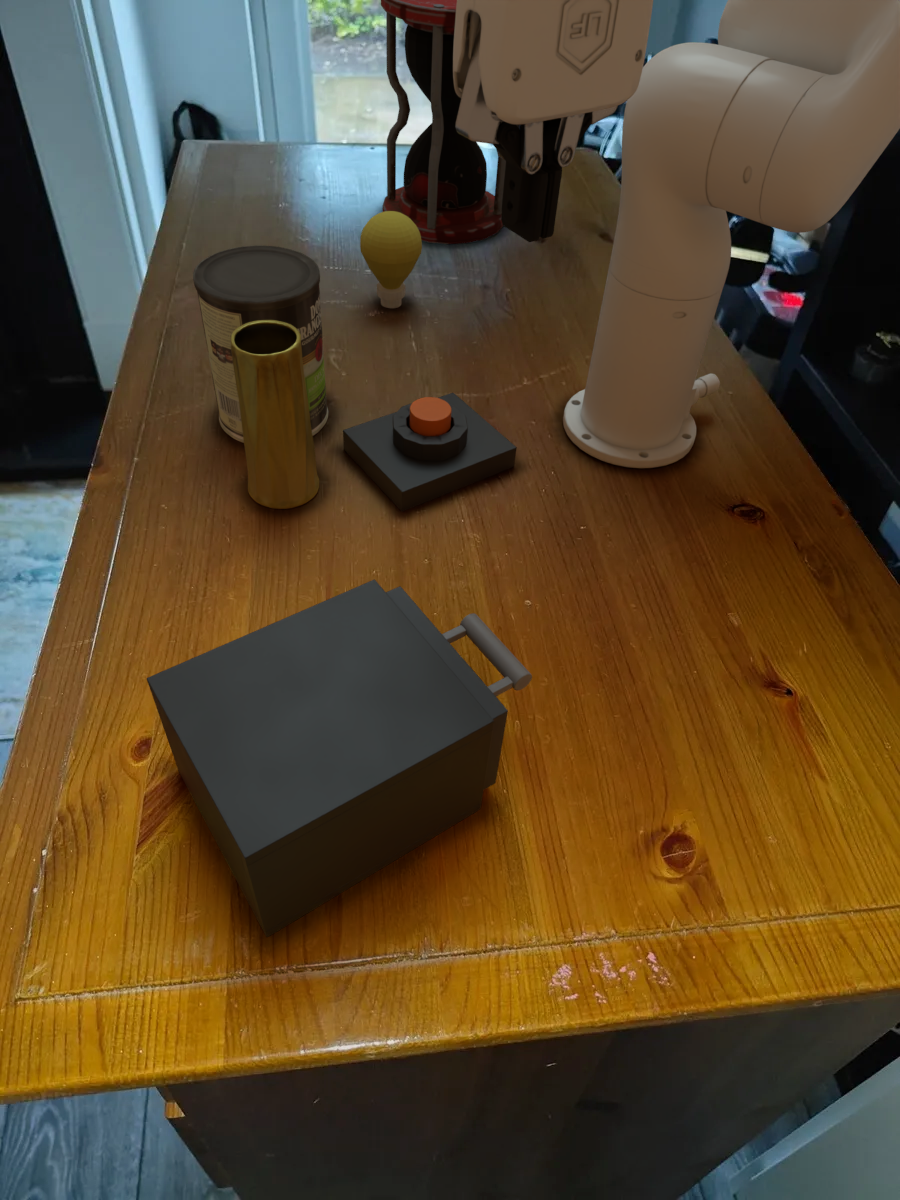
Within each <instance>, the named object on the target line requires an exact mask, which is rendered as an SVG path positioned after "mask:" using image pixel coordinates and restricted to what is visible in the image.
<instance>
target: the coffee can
mask: <svg viewBox="0 0 900 1200" xmlns="http://www.w3.org/2000/svg"><path fill="white" fill-rule="evenodd" d="M192 272H193V273H192V280H193V285H194V288H195V290H196V293H197V298H198V299H197V300H198V304H199V310H200V311H199V312H200V315H201V320H202V321H201V322H202V327H203V333H204V337H205V344H206V349H207V355H208V359H209V360H208V361H209V366H210V373H211V377H212V384H213V390H214V394H215V399H216V405H217V411H218V412H217V413H218V422H219V425H220V427H221V429H222V430H223V432H224V433H226V435H228V436H229V437H231V438H232V439H233V440H235V441H237V442H240V443H243V444H244V439H243V430H242V422H241V414H240V405H239V398H238V393H237V387H236V380H235V373H234V366H233V360H232V352H231V335H232V333H233V332H234V330H235V329H237V328H238V327H240V326H241V325H243V324H245V323H248V322H252V321H257V320H276V321H281V322H285V323H288V324H291V325H292V326H294V327H295V328H296V329H297V330H298V331H299V332H300V334H301V348H302V359H303V369H304V377H305V385H306V392H307V398H308V406H309V413H310V423H311V429H312V435H313V437H314V436H315V435H316V434H319V432H320V431H321V430H322V429H323V428H324V426H325V425H326V424H327V422H328V418H329V408H328V401H327V399H328V398H327V386H326V371H325V369H326V368H325V356H324V355H325V354H324V340H323V324H322V323H323V321H322V320H323V319H322V306H321V291H320V288H321V287H320V283H321V271H320V268H319V266H318V264H317V263H316V261H315V260H313V258H311V257H309V256H308V255H306V254H304V253H302V252H301V251H297V250H295V249H291V248H288V247H282V246H274V245H262V244H261V245H258V244H257V245H244V246H242V245H241V246H237V247H232V248H231V247H230V248H227V249H224V250H221V251H218V252H215V253H213V254H210V255H209V256H207V257H205V258H204V259H202V260H201V261H200V262H199V263H198V264H196V266H195V268H194V270H193V271H192Z"/></svg>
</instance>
